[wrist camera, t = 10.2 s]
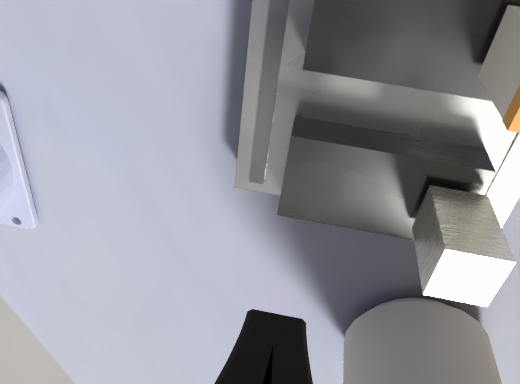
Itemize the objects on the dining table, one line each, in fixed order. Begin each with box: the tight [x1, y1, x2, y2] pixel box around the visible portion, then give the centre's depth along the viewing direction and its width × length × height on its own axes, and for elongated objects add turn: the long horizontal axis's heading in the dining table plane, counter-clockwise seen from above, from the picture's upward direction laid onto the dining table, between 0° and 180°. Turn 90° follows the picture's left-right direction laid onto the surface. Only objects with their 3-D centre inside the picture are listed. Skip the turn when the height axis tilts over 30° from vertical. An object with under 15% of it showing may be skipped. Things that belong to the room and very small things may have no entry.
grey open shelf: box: [235, 0, 520, 307], centre depth 13 cm, size 11×16×6 cm
